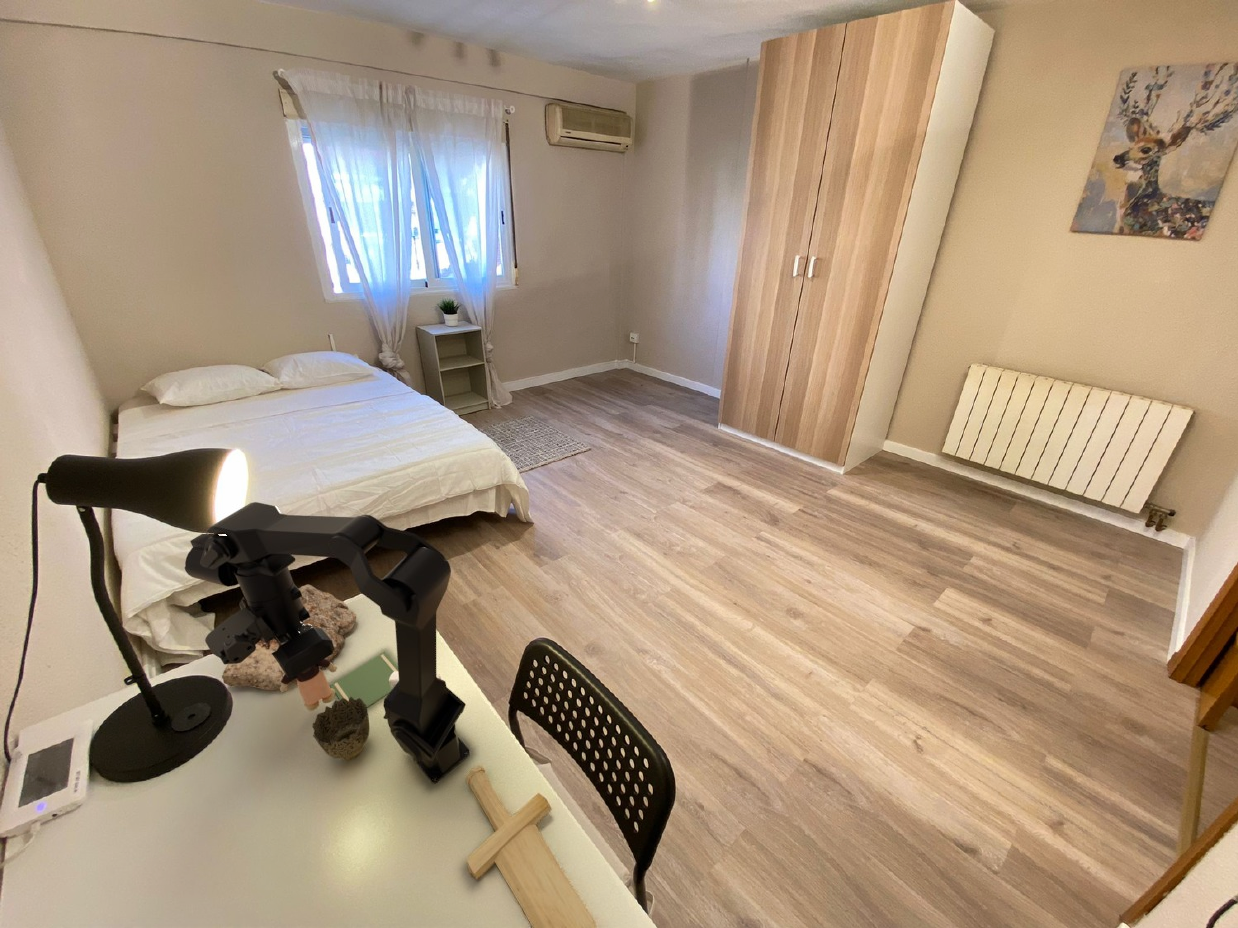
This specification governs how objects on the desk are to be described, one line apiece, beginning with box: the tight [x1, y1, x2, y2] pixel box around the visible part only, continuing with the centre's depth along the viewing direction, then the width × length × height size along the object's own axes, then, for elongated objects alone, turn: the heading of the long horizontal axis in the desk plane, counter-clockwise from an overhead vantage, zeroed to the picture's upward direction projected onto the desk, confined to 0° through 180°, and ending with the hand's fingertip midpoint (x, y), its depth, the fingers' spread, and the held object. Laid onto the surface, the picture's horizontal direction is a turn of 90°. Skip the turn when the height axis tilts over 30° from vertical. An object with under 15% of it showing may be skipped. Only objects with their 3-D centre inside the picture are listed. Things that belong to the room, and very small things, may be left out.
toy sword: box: [465, 764, 598, 928], centre depth 65 cm, size 12×3×30 cm
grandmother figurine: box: [279, 659, 338, 712], centre depth 79 cm, size 8×4×13 cm, turn 138°
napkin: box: [329, 651, 398, 709], centre depth 90 cm, size 9×10×1 cm
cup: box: [312, 697, 370, 761], centre depth 77 cm, size 8×7×8 cm
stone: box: [221, 584, 357, 691], centre depth 94 cm, size 22×8×15 cm
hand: (301, 664), depth 78 cm, fingers closed on grandmother figurine, 3 cm apart
